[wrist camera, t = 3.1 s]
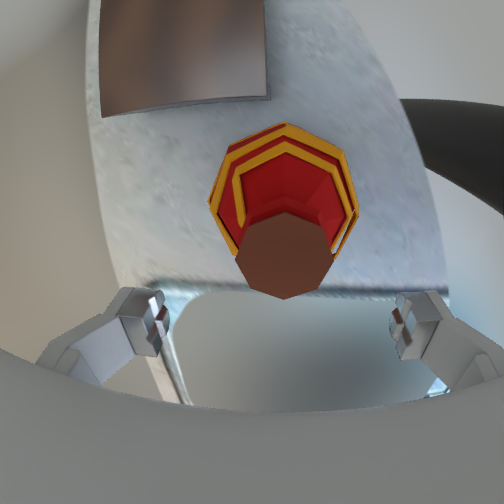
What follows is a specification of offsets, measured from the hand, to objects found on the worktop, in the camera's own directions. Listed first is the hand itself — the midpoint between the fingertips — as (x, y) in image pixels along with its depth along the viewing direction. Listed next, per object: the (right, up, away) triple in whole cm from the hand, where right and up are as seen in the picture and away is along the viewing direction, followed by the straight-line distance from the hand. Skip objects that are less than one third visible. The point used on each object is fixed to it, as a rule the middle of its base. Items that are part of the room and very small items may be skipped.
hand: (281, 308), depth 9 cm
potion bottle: (+2, +9, +16) cm, 18 cm away
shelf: (-6, +20, +10) cm, 23 cm away
